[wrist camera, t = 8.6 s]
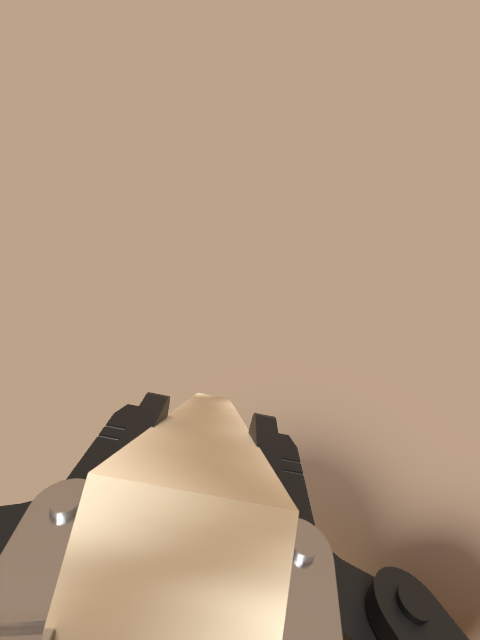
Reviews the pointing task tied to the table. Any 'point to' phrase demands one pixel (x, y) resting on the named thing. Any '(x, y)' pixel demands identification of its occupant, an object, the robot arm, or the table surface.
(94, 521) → the birch bar
